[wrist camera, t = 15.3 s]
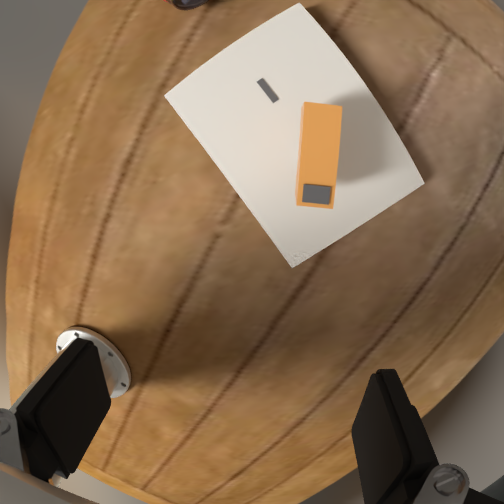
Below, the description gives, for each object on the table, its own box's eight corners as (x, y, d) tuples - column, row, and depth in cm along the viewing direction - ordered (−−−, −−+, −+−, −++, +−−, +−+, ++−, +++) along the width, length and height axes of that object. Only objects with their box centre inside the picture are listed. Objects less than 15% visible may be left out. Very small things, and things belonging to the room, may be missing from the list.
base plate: (291, 260, 32) (292, 277, 29) (171, 97, 28) (155, 93, 24) (416, 180, 28) (433, 187, 24) (298, 10, 24) (299, -6, 20)
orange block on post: (301, 107, 23) (304, 101, 19) (333, 111, 23) (342, 105, 19) (294, 193, 26) (296, 206, 21) (325, 196, 25) (333, 209, 21)
